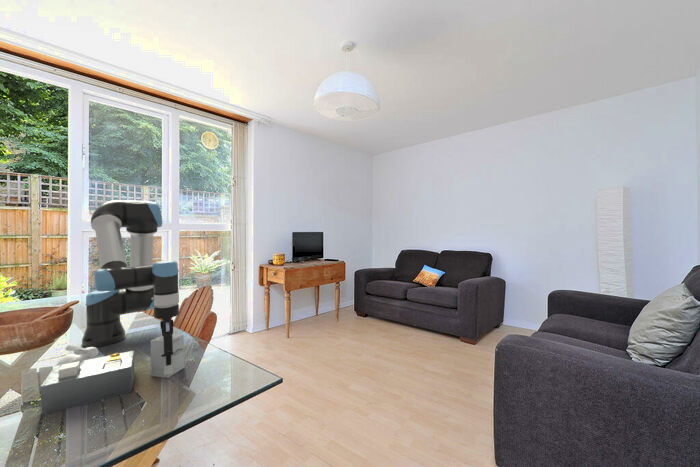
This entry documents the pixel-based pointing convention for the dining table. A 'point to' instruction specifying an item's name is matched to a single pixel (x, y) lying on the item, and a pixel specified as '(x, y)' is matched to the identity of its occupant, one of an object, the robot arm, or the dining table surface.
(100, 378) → the block
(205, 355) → the dining table surface
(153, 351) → the supplement box
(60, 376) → the block
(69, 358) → the rabbit
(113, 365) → the block
